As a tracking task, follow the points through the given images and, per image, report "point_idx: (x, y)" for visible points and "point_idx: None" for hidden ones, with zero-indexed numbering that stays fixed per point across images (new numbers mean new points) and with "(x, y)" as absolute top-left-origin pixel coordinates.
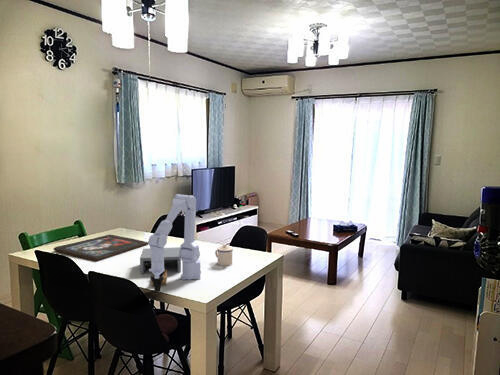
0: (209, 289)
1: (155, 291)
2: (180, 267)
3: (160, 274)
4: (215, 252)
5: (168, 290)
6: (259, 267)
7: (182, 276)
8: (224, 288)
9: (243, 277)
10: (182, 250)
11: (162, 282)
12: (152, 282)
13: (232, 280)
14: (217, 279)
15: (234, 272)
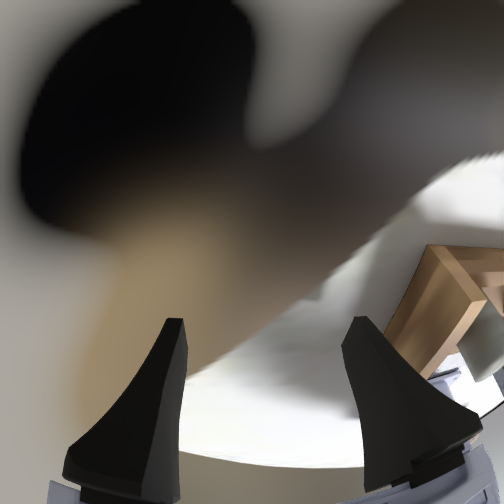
0: (237, 446)
1: (166, 320)
2: (494, 375)
3: (373, 445)
4: None
5: (276, 358)
6: (358, 465)
7: (432, 383)
8: (237, 459)
9: (311, 466)
10: (475, 502)
11: (401, 341)
12: (443, 277)
13: (300, 461)
14: (329, 447)
15: (360, 453)
